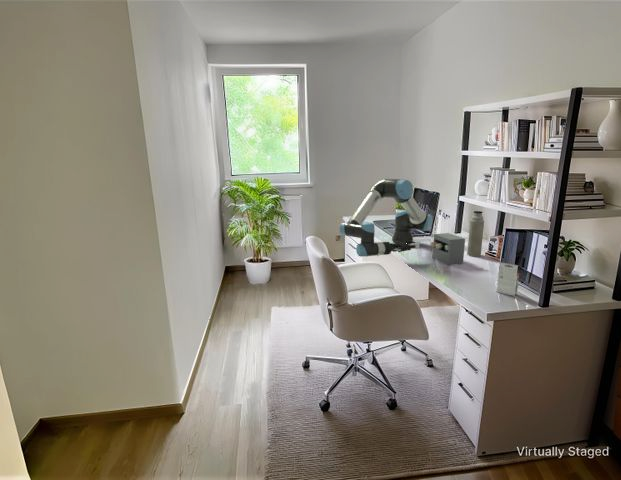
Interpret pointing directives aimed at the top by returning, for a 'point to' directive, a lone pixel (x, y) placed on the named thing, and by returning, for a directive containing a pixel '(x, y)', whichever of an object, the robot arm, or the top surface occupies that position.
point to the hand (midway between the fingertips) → (418, 245)
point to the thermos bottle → (475, 234)
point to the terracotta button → (434, 244)
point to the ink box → (507, 279)
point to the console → (449, 248)
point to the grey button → (439, 246)
